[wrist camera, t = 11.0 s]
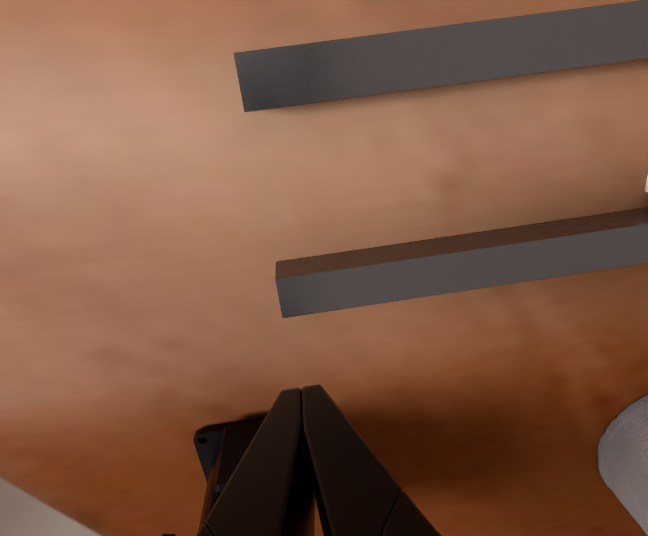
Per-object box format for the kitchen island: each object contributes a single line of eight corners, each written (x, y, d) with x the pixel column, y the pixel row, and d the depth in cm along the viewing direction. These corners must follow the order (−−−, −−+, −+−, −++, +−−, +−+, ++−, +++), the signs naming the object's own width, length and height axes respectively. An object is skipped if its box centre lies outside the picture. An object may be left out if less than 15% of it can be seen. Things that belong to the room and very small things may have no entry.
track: (818, 218, 22) (956, 251, 18) (282, 298, 21) (282, 356, 17) (908, -31, 18) (1122, -70, 13) (238, 56, 17) (222, 45, 12)
